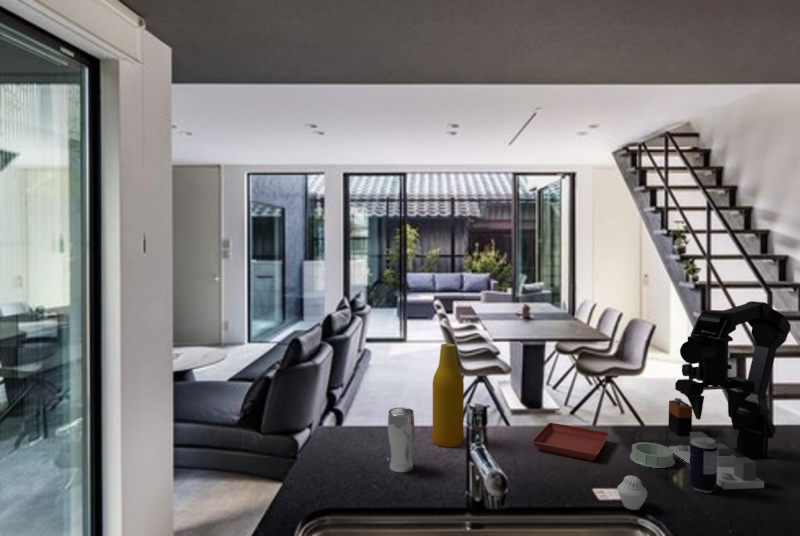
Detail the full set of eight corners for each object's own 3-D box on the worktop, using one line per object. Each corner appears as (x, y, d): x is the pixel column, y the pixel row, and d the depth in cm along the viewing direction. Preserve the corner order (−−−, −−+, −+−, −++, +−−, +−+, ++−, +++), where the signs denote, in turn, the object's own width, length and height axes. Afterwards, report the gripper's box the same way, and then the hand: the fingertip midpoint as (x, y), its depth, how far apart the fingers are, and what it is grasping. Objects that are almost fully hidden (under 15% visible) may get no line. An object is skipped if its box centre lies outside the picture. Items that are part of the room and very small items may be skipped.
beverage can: (713, 485, 128) (714, 436, 128) (718, 496, 123) (720, 445, 122) (687, 482, 130) (688, 434, 130) (691, 492, 125) (692, 442, 124)
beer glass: (418, 464, 141) (418, 409, 140) (407, 475, 134) (407, 417, 134) (394, 460, 144) (394, 405, 143) (383, 470, 137) (383, 413, 137)
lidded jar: (629, 515, 114) (630, 483, 114) (611, 501, 120) (611, 471, 120) (653, 511, 116) (654, 480, 116) (634, 498, 122) (634, 468, 122)
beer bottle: (429, 446, 154) (429, 346, 152) (436, 434, 163) (436, 341, 161) (460, 449, 151) (460, 348, 150) (466, 438, 160) (466, 342, 159)
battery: (681, 428, 168) (682, 397, 167) (692, 436, 161) (693, 404, 161) (667, 428, 168) (668, 397, 168) (677, 436, 161) (678, 403, 161)
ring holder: (660, 451, 149) (660, 441, 149) (683, 468, 138) (684, 456, 138) (622, 452, 148) (622, 442, 148) (642, 469, 137) (643, 458, 137)
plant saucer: (597, 466, 141) (597, 453, 141) (530, 452, 150) (531, 440, 150) (610, 443, 156) (610, 432, 156) (549, 432, 166) (549, 422, 165)
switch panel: (669, 451, 149) (669, 431, 149) (703, 450, 150) (703, 430, 150) (724, 489, 126) (724, 465, 126) (764, 487, 127) (764, 464, 127)
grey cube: (722, 454, 140) (722, 443, 140) (730, 459, 137) (730, 448, 137) (710, 455, 140) (710, 444, 140) (718, 460, 136) (718, 448, 136)
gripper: (726, 351, 147) (725, 406, 148) (662, 354, 145) (662, 410, 146) (757, 360, 136) (756, 420, 137) (689, 363, 134) (688, 424, 134)
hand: (714, 418), depth 139 cm, fingers open, 9 cm apart
